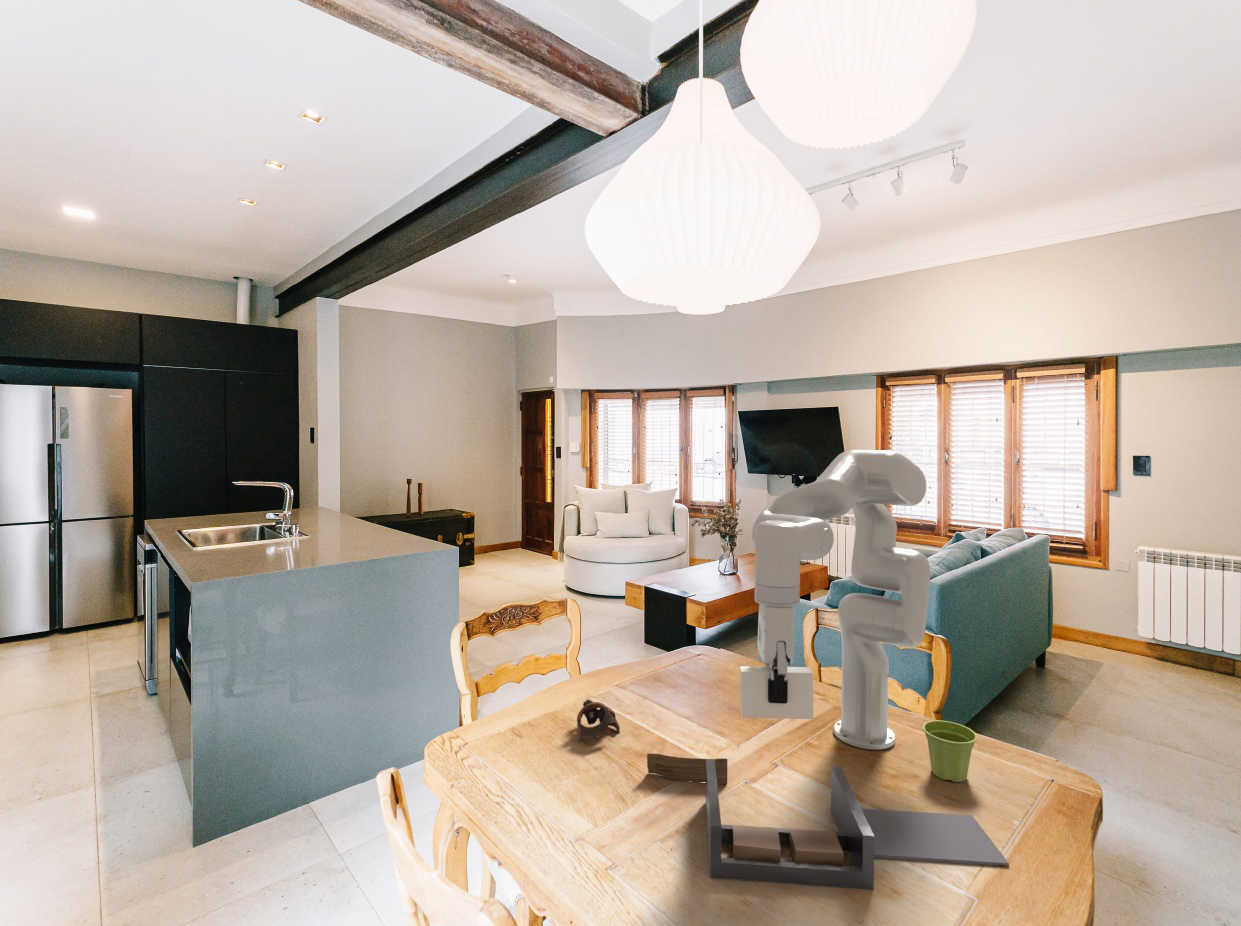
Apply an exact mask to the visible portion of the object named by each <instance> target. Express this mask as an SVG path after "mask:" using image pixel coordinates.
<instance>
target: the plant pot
mask: <svg viewBox="0 0 1241 926" xmlns="http://www.w3.org/2000/svg"><path fill="white" fill-rule="evenodd" d="M922 730H923V732H924V735H925V738H926V739H927V745H928V754H929V761H930V769H931V772H932V774H933V775H935V777H938V778H939V779H941V780H944V781H946V780H947V781H952V782H953V783H962V782H965V781H966V780H967V779H968V773H969V767H970V762H971V756H972V752H973V751H972V749H973V748H974V745H975V742H977V739H978V735H977V733H976V732H975V731H974V730H972V729H971V728H970V727H967V726H965V725H963V724H960V723H956V722H953V721H948V720H938V719H937V720H928V721H926V722H925V723H923V724H922Z"/></svg>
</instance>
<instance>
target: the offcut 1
mask: <svg viewBox="0 0 1241 926" xmlns="http://www.w3.org/2000/svg"><path fill="white" fill-rule="evenodd" d="M732 825H733V844H732V856H733V857H732V859H746V860H761V861H775V862H782V860H781V858H782V856H781V855H782V850H781V848H782V847H780V841H779V834H778V829H775V828H776V827H769V828H765V827H766V826H765V827H764V826H756V825H755V826H753V825H745V824H734V823H733V824H732Z"/></svg>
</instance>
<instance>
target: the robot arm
mask: <svg viewBox="0 0 1241 926" xmlns="http://www.w3.org/2000/svg"><path fill="white" fill-rule="evenodd" d="M926 491H927V480H926V477H925V474H924V472H923V470H922V469H921V468H920V467H919V466H918V465H916V464H915V463H914V462H912V461H911V460H910V459H909V458H907V457H906V456H904V455H903V454H901V453H899V452H897V451H893V450H887V449H886V450H885V449H883V450H881V449H880V450H877V449H876V450H873V449H868V450H867V449H852V450H846V451H843V452H841V453H840V454H838V455H837V456H836V457H835V458H834V459H833V460H832V461H831V463H830V464H829V465H828V466H827V467H826V468H825V470H824V471H823V472H822V473H821V474H820V475H819V476H818V477H817V479H816V480H815V481H813V482H811V483H807V484H805V485H802V486H800V487H797V488H795V489H792V490H789V491H787V492H785V493H783V494H780V495H779V496H776V497H775V498H774V499H772V500H771V501H770V502H768V504H767V505H766V506H765V507H764V508H763V510H762V511H761V512H760V513H759V515H758V516H757V517H756V519H755V521H754V523H753V527H752V529H751V530H752V531H751V538H752V542H753V544H754V602H755V603H757V604H758V621H757V624H758V625H757V641H756V642H757V651H758V654H759V656H760V659H761V662H762V663H763V664H764V665H765V667H770V679H768V701H769V703H783V704H786V703H787V702H788V680H787V667H791V665H793V663H794V654H795V653H794V651H795V647H794V646H795V643H794V642H795V640H794V639H795V630H794V629H795V627H794V626H795V625H794V621H795V618H794V607H798V606H799V605H800V602H801V601H800V600H801V599H800V598H801V597H800V595H801V594H800V592H801V591H800V590H801V585H800V584H801V561H817V560H820V559H823V558H824V557H826V556H827V555H828V554H829V553H830V552H831V550H832V548H833V545H834V540H835V536H834V531H833V529H832V527H831V525H830V524H829V523H828V522H827V520H832V519H836V518H839V517H842V516H844V515H847V513H848V512H850V510H851V509H852V512H853V514H854V520H855V534H854V541H853V549H852V557H851V565H850V569H851V570H850V572H851V578H852V580H853V582H854V583H856V584H857V585H858V586H861V587H865V588H869V589H875V590H879V591H886V592H892V593H897V594H900V596H901V599H897V598H892V597H887V596H882V595H875V594H870V593H866V592H865V593H864V592H852V593H849V594H846V595H844V596H843V597H842V598H841V600H839V603H838V606H837V607H838V608H837V617H838V624H839V630H840V636H841V638H840V639H841V704H840V705H841V707H840V708H841V709H840V713H841V714H840V717H841V718H840V719H839V720H837V721H836V722H835V723H834V725H833V734H834V735H835V736H836V737H837V738H838V739H839V741H841V742H843V743H846V744H847V745H850V746H852V747H856V748H859V749H865V750H873V751H875V750H878V751H879V750H886V749H889V748H891V747H893V746H894V745H895V743H896V735H895V733H894V731H893V730H891V729H890V728H889V727H888V723H889V722H888V721H889V716H888V714H889V713H888V711H889V703H888V702H889V667H890V666H889V665H890V664H889V658H888V655H887V653H886V650H885V648H884V646H883V644H888V645H893V646H897V647H902V648H909V649H914V648H917V647H918V646H920V645H921V643H922V642H923V640H924V637H925V633H926V626H927V617H928V609H929V608H928V607H929V597H930V589H931V588H930V587H931V566H930V563H929V562H930V561H929V559H928V557H927V556H926V555H925V554H923V553H922V552H921V551H918V550H914V549H907V548H900V547H897V546H896V542H897V534H898V533H897V531H898V525H897V522H896V520H895V518H894V516H893V515H892V513H891V511H889V509H888V508H887V507H886V505H891V506H902V507H903V506H904V507H913V506H916V505H918V504H920V503H922V500H923V499H924V497H925V496H926V493H927V492H926ZM882 643H883V644H882ZM774 667H777V668H775V669H774Z"/></svg>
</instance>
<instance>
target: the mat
mask: <svg viewBox="0 0 1241 926" xmlns="http://www.w3.org/2000/svg"><path fill="white" fill-rule="evenodd" d="M861 809H862V812H863V814H864V816H865V818H866V820H867V822H868V824H869V826H870V828H871V830H872V832H873V834H874V859H876V858H877V859H888V860H889V859H891V860H904V861H907V860H908V861H922V862H935V863H952V864H965V863H968V864H967V865H970V864H969V863H972V864H971V865H979V864H981V865H982V864H983V865H982V866H994V865H997V866H998V865H1003V866H1002V867H1009V866H1010V863H1009V861H1008V860H1007V858H1006V857H1005V856H1004V855H1003V854H1002V852H1001V851H1000V850H999V848H998V847H997V846H996V844H995V843H994V842H993V840H992V839H991V838H990V837H989V836H988V834H987V833H986V832H985V830H984V829H983V828H982V825H980V823H978V821H977V820H976V818H975V817H974V816H973V814H960V813H958V814H956V813H945V812H943V813H942V812H925V811H912V810H911V811H909V810H908V811H907V810H892V809H890V810H889V809H877V808H876V809H872V808H861ZM973 863H974V864H973ZM981 865H980V866H981ZM1004 865H1005V866H1004ZM998 867H999V866H998Z"/></svg>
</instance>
